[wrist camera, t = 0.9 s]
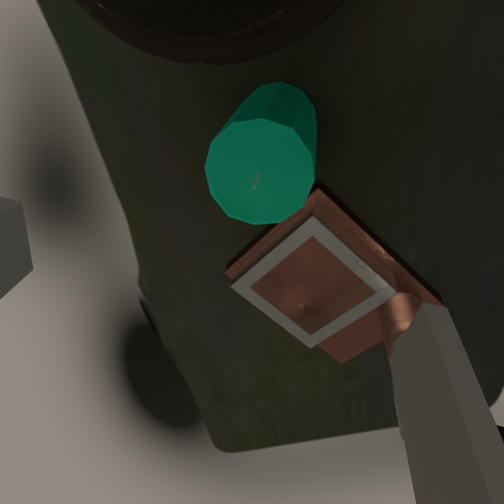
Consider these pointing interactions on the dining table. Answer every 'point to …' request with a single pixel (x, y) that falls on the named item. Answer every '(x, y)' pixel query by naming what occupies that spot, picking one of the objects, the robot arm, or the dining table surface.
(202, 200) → the dining table surface
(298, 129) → the candle
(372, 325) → the brown stand with post
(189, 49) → the container
